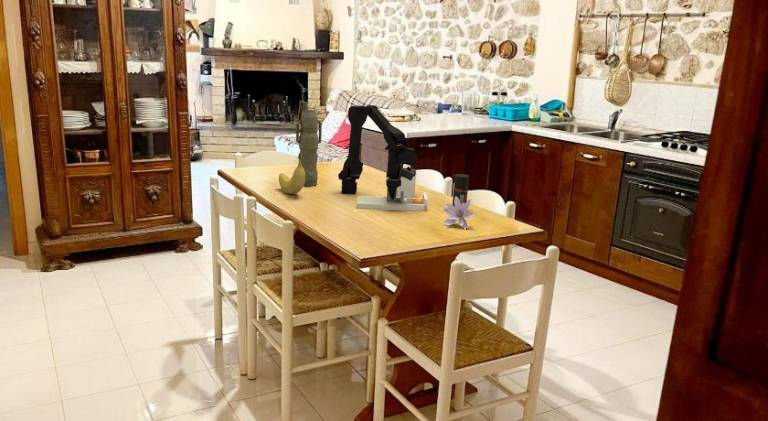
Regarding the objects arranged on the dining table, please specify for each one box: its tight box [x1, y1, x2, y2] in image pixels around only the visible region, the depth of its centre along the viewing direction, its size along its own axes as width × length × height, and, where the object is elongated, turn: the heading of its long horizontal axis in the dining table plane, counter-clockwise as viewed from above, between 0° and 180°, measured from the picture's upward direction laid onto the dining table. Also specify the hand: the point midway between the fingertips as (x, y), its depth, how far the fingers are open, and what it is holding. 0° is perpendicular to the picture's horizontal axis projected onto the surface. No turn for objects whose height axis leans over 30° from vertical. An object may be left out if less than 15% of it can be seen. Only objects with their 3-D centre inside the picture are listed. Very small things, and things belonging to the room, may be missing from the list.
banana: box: [278, 152, 305, 195], centre depth 270 cm, size 23×6×20 cm, turn 32°
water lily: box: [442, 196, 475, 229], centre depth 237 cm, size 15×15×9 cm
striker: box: [386, 187, 405, 203], centre depth 260 cm, size 7×7×6 cm
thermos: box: [295, 109, 323, 188], centre depth 286 cm, size 9×12×35 cm
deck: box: [356, 195, 408, 212], centre depth 261 cm, size 21×14×2 cm, turn 90°
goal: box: [407, 192, 429, 212], centre depth 261 cm, size 8×12×5 cm
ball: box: [413, 197, 422, 204], centre depth 261 cm, size 4×4×4 cm
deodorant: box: [451, 173, 470, 207], centre depth 257 cm, size 6×6×15 cm
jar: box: [396, 167, 417, 198], centre depth 279 cm, size 9×8×12 cm
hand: (392, 198), depth 260 cm, fingers closed on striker, 4 cm apart
